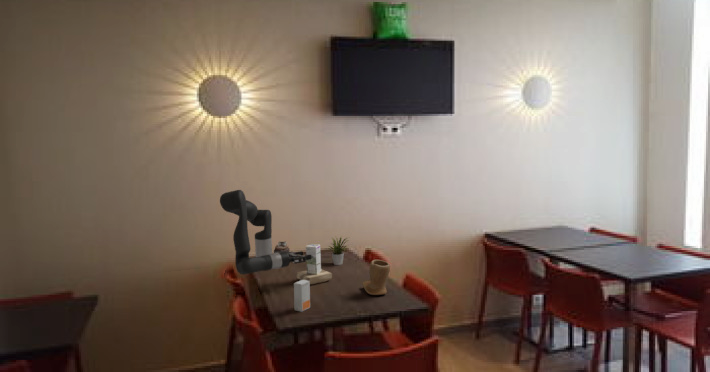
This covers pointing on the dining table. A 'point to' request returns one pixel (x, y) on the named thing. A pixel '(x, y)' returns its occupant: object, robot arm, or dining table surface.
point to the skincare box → (302, 295)
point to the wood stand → (315, 276)
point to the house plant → (338, 251)
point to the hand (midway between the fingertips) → (306, 255)
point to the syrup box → (313, 259)
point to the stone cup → (377, 277)
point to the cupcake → (281, 247)
